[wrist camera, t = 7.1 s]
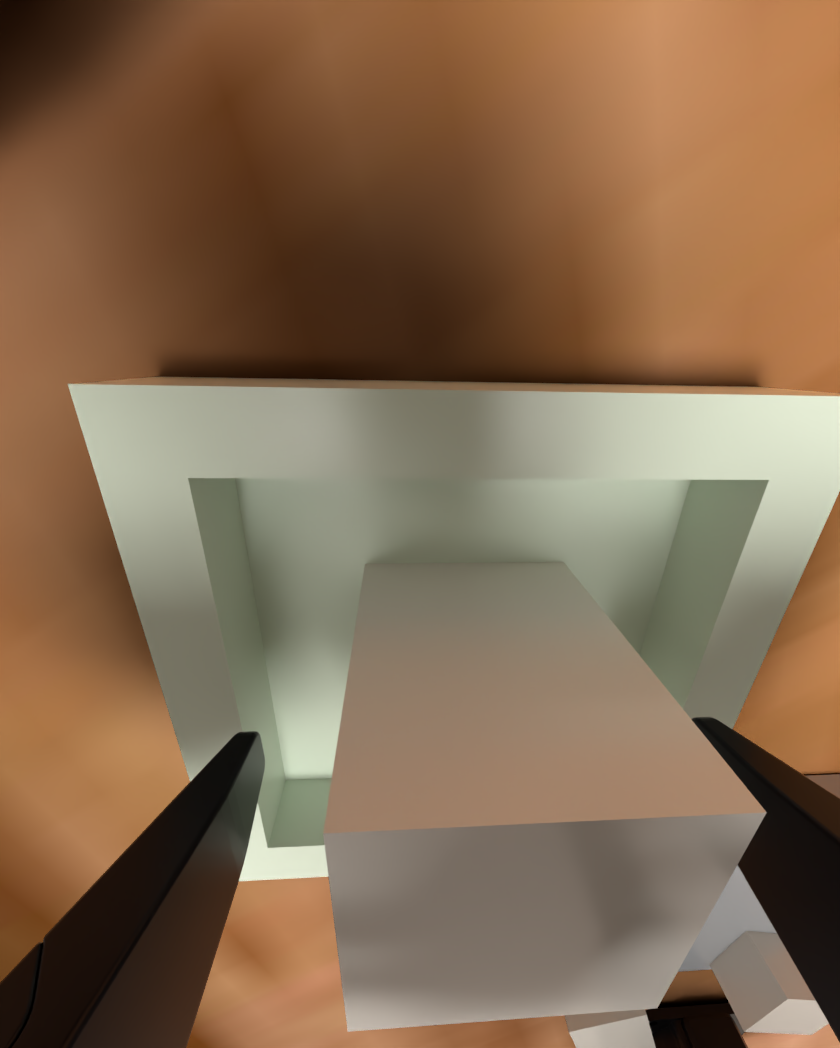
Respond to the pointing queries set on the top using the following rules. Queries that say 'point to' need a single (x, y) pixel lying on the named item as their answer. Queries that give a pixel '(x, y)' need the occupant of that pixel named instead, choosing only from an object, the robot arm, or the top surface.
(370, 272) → the top surface
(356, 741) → the large white cube
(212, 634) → the bin
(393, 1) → the top surface
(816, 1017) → the slate board
